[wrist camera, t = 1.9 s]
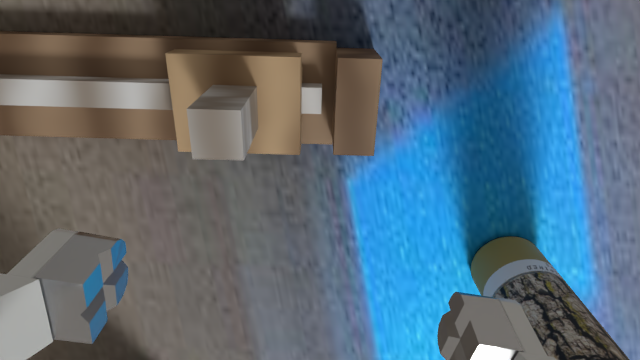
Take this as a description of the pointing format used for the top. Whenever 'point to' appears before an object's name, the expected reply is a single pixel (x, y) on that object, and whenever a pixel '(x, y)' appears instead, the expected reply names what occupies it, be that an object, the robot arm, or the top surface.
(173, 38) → the rail track
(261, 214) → the top surface
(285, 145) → the carriage
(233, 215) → the top surface
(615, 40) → the top surface
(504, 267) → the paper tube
